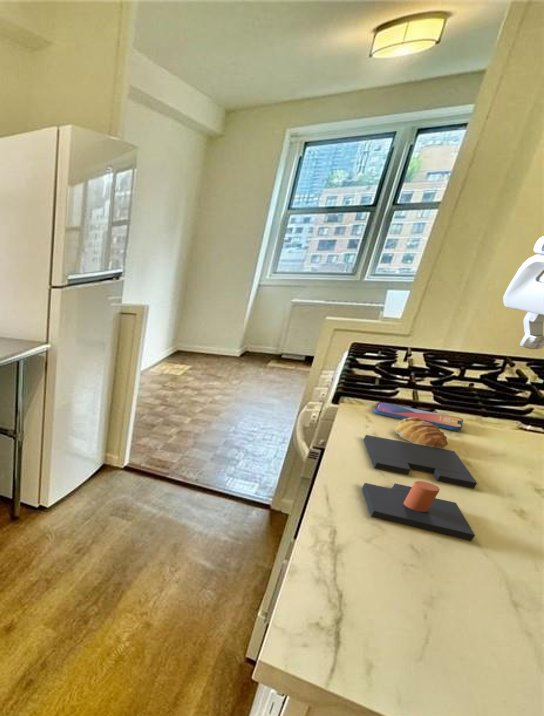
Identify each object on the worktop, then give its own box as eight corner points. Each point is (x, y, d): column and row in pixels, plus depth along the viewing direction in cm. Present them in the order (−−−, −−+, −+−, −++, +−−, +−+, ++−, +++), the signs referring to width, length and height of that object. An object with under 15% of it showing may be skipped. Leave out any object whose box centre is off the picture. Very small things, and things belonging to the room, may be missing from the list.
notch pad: (451, 456, 96) (454, 450, 95) (474, 488, 85) (477, 483, 84) (363, 439, 102) (365, 434, 101) (374, 468, 91) (376, 462, 91)
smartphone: (377, 405, 119) (378, 401, 118) (461, 422, 109) (463, 418, 109) (372, 413, 114) (374, 409, 114) (459, 432, 105) (462, 428, 104)
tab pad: (448, 501, 82) (463, 474, 79) (471, 541, 72) (489, 513, 70) (359, 481, 87) (371, 456, 85) (370, 517, 78) (384, 489, 75)
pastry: (455, 452, 97) (465, 435, 95) (419, 451, 98) (428, 434, 96) (419, 432, 105) (427, 416, 103) (386, 431, 106) (394, 415, 104)
